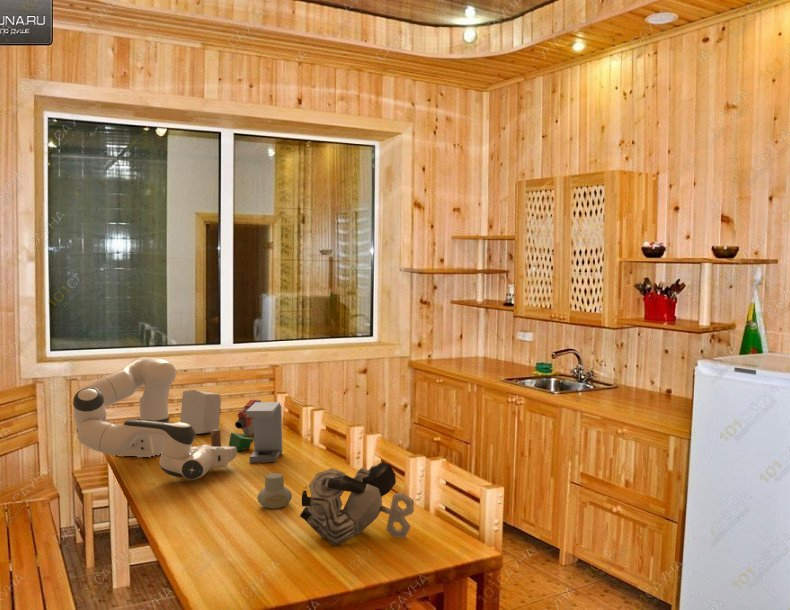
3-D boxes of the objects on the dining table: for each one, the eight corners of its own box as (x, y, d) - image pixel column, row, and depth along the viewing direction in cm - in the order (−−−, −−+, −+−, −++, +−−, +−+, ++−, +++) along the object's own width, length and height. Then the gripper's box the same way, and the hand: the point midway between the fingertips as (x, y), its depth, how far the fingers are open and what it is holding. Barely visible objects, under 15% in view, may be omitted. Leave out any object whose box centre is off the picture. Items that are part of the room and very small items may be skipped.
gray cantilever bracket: (246, 465, 283) (245, 411, 281) (255, 453, 299) (254, 402, 297) (275, 465, 283) (273, 410, 281) (282, 453, 299) (281, 402, 297)
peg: (210, 461, 288) (209, 431, 288) (213, 459, 292) (212, 429, 291) (219, 461, 288) (219, 431, 287) (222, 459, 292) (221, 429, 291)
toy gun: (238, 445, 325) (232, 415, 319) (258, 420, 342) (252, 392, 337) (246, 445, 324) (240, 416, 318) (266, 421, 341) (260, 393, 336)
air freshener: (258, 512, 232) (258, 481, 231) (256, 503, 240) (255, 473, 239) (293, 508, 235) (292, 477, 234) (290, 500, 243) (289, 470, 242)
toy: (286, 524, 220) (360, 470, 237) (357, 591, 202) (431, 528, 220) (282, 476, 207) (360, 423, 225) (357, 543, 190) (435, 481, 207)
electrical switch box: (226, 433, 341) (229, 390, 342) (202, 436, 329) (205, 391, 330) (203, 430, 349) (207, 387, 350) (179, 432, 337) (182, 388, 338)
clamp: (248, 460, 306) (255, 442, 303) (234, 458, 303) (242, 440, 300) (240, 443, 315) (247, 425, 313) (227, 441, 312) (234, 424, 310)
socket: (249, 463, 286) (249, 456, 286) (255, 455, 296) (255, 449, 296) (275, 463, 286) (275, 456, 285) (279, 455, 296) (279, 449, 295)
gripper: (176, 465, 273) (187, 455, 287) (231, 465, 273) (240, 455, 286) (176, 449, 272) (187, 439, 286) (231, 449, 272) (239, 439, 286)
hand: (214, 447), depth 286 cm, fingers open, 8 cm apart
